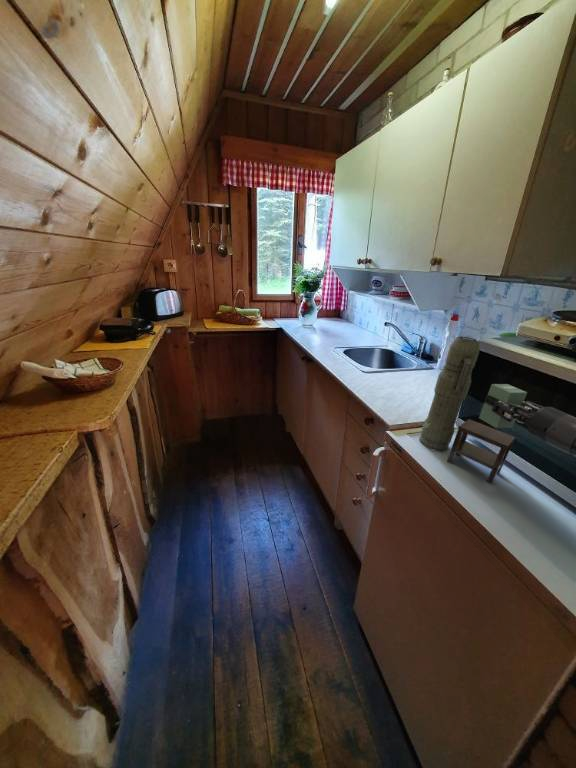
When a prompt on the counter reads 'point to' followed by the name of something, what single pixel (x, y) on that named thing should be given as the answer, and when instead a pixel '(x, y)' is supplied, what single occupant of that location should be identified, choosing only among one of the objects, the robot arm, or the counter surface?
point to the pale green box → (508, 396)
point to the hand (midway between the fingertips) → (495, 398)
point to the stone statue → (450, 393)
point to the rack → (479, 453)
